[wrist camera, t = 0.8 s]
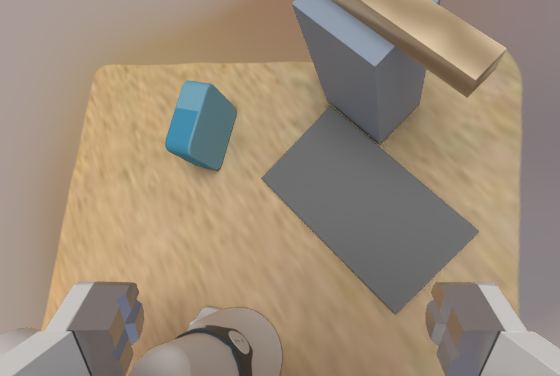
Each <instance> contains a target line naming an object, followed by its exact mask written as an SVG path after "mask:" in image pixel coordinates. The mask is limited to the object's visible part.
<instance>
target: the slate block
mask: <svg viewBox="0 0 560 376" xmlns="http://www.w3.org/2000/svg"><path fill="white" fill-rule="evenodd" d="M432 1H433V2H435V3H436V4H438V5H440V0H432ZM292 6H293V9H294V11H295V14H296V17H297V19H298V22H299V25H300V27H301V30H302V33H303V36H304V38H305V41H306V44H307V47H308V49H309V52H310V55H311V58H312V60H313V63H314V66H315V69H316V71H317V74H318V77H319V80H320V82H321V85H322V88H323V91H324V93H325V96H326V99H327V101H328V102H329V103H330V104H332V105H333V106H334V107H335V108H336V109H337V110H339V111H340V112H341V113H342V114H343V115H345V116H346V117H347V118H348V119H349V120H351V121H352V122H353V123H354V124H355V125H357V126H358V127H359V128H360V129H361V130H362V131H364V132H365V133H366V134H367V135H368V136H370V137H371V138H372V139H373V140H374V141H376V142H377V143H378V144H379V145H380V144H381V143H382V142H383V141H384V140H385V139H386V138H387V137H388V136H389V135H390V134H391V133H392V132H393V131H394V130H395V129H396V128H397V127H398V126H399V125H400V124H401V123H402V122H403V121H404V120H405V118H406V117H407V116H408V115H409V114H410V113H411V112H412V111H413V110H414V109H415V108H416V107H417V106H418V105H419V103H420V98H421V93H422V88H423V83H424V78H425V73H426V68H425V67H423V66H422V65H421V64H419V63H418V62H416V61H415V60H414V59H412V58H411V57H410V56H408V55H407V54H405V53H404V52H403V51H401V50H400V49H398V48H397V47H396V46H394V45H393V44H391V43H390V42H389V41H387V40H386V39H384V38H383V37H382V36H380V35H379V34H377V33H376V32H375V31H373V30H372V29H370V28H369V27H368V26H366V25H365V24H364V23H362V22H361V21H359V20H358V19H357V18H355V17H354V16H352V15H351V14H350V13H348V12H347V11H345V10H344V9H343V8H341V7H340V6H338V5H337V4H336V3H334V2H333V1H331V0H295V1H294V2H293V3H292Z"/></svg>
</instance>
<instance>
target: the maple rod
mask: <svg viewBox="0 0 560 376" xmlns="http://www.w3.org/2000/svg"><path fill="white" fill-rule="evenodd" d="M331 1H333V2H334V3H336V4H337V5H338V6H340V7H341V8H343V9H344V10H345V11H347V12H348V13H350V14H351V15H352V16H354V17H355V18H357V19H358V20H359V21H361V22H362V23H364V24H365V25H366V26H368V27H369V28H370V29H372V30H373V31H375V32H376V33H377V34H379V35H380V36H382V37H383V38H384V39H386V40H387V41H389V42H390V43H391V44H393V45H394V46H396V47H397V48H398V49H400V50H401V51H403V52H404V53H405V54H407V55H408V56H410V57H411V58H412V59H414V60H415V61H416V62H418V63H419V64H421V65H422V66H423V67H425V68H426V69H428V70H429V71H430V72H432V73H433V74H435V75H436V76H437V77H439V78H440V79H442V80H443V81H444V82H446V83H447V84H449V85H450V86H451V87H453V88H454V89H456V90H457V91H458V92H460V93H461V94H463V95H464V96H465V97H468V96H469V95H470V94H471V93H472V92H473V91H474V90H475V89H476V88H477V87H478V86H479V85H480V84H481V83H482V82H483V81H484V80H485V79H486V78H487V77H488V76H489V75H490V74H491V73H492V72H493V71H494V70H495V69H496V67H497V65H498V63H499V62H500V60H501V58H502V56H503V54H504V53H505V51H506V49H507V48H505V47H504V46H502V45H500V44H499V43H497V42H496V41H494V40H493V39H491V38H490V37H488V36H486V35H485V34H483V33H482V32H480V31H478V30H477V29H475V28H474V27H472V26H471V25H469V24H468V23H466V22H465V21H463V20H461V19H460V18H458V17H457V16H455V15H454V14H452V13H450V12H449V11H447V10H446V9H444V8H442V7H441V6H440V5H438V4H436V3H435V2H433V1H432V0H331Z"/></svg>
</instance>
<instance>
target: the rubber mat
mask: <svg viewBox="0 0 560 376" xmlns="http://www.w3.org/2000/svg"><path fill="white" fill-rule="evenodd" d="M261 179H262V180H263V181H264V182H265V183H266V184H267V185H268V186H269V187H270V188H271V189H272V190H273V191H274V192H275V193H276V194H277V195H278V196H279V197H280V198H281V199H282V200H283V201H284V202H285V203H286V204H287V205H288V206H289V207H290V208H291V209H292V210H293V211H294V212H295V213H296V214H297V215H298V216H299V217H300V218H301V219H302V220H303V221H304V222H305V223H306V224H307V225H308V226H309V227H310V228H311V229H312V230H313V231H314V232H315V233H316V234H317V235H318V236H319V237H320V238H321V239H322V240H323V241H324V242H325V243H326V244H327V246H328V247H329V248H330V249H331V250H332V251H333V252H334V253H335V254H336V255H337V256H338V257H339V258H340V259H341V260H342V261H343V262H344V263H345V264H346V265H347V266H348V267H349V268H350V269H351V270H352V271H353V272H354V273H355V274H356V275H357V276H358V277H359V278H360V279H361V280H362V281H363V282H364V283H365V284H366V285H367V286H368V287H369V288H370V289H371V290H372V291H373V292H374V293H375V294H376V295H377V296H378V297H379V298H380V299H381V300H382V301H383V302H384V303H385V304H386V305H387V306H388V307H389V308H390V309H391V310H392V311H393V312H394V313H395V314H396V313H397V312H398V311H399V310H400V309H401V308H402V307H403V306H404V305H405V304H406V303H407V302H408V301H409V300H411V299H412V298H413V297H414V296H415V295H416V294H417V293H418V292H419V291H420V290H421V289H422V288H423V287H424V286H425V285H426V284H427V283H428V282H429V281H430V280H431V279H432V278H433V277H434V276H435V275H436V274H437V273H438V272H439V271H440V270H441V269H442V268H443V267H444V266H445V265H446V264H447V263H448V262H449V261H450V260H451V259H452V258H453V257H454V256H455V255H456V254H457V253H458V252H459V251H460V250H461V249H462V248H463V247H464V246H465V245H466V244H467V243H468V242H469V241H470V240H471V239H472V238H473V237H474V236H475V235H476V234H477V233H478V232H479V231H478V230H477V229H476V228H475V227H474V226H472V225H471V224H470V223H469V222H468V221H467V220H465V219H464V218H463V217H462V216H461V215H459V214H458V213H457V212H456V211H455V210H453V209H452V208H451V207H450V206H449V205H448V204H446V203H445V202H444V201H443V200H442V199H440V198H439V197H438V196H437V195H436V194H434V193H433V192H432V191H431V190H430V189H429V188H427V187H426V186H425V185H424V184H423V183H421V182H420V181H419V180H418V179H417V178H416V177H414V176H413V175H412V174H411V173H410V172H408V171H407V170H406V169H405V168H404V167H402V166H401V165H400V164H399V163H398V162H397V161H395V160H394V159H393V158H392V157H391V156H389V155H388V154H387V153H386V152H385V151H383V150H382V149H381V148H380V147H379V146H378V145H376V144H375V143H374V142H373V141H372V140H370V139H369V138H368V137H367V136H366V135H364V134H363V133H362V132H361V131H360V130H359V129H357V128H356V127H355V126H354V125H353V124H351V123H350V122H349V121H348V120H347V119H345V118H344V117H343V116H342V115H341V114H340V113H338V112H337V111H336V110H335V109H334V108H332V107H331V106H330V107H329V108H328V109H327V110H326V111H325V112H324V113H323V114H322V116H321V117H320V118H319V119H318V120H317V121H316V122H315V123H314V124H313V125H312V126H311V127H310V128H309V129H308V130H307V131H306V132H305V133H304V134H303V135H302V136H301V137H300V138H299V140H298V141H297V142H296V143H295V144H294V145H293V146H292V147H291V148H290V149H289V150H288V151H287V152H286V153H285V154H284V155H283V156H282V157H281V158H280V159H279V160H278V161H277V162H276V163H275V165H274V166H273V167H272V168H271V169H270V170H269V171H268V172H267V173H266V174H265V175H264V176H263V177H262V178H261Z"/></svg>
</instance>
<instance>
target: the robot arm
mask: <svg viewBox="0 0 560 376" xmlns="http://www.w3.org/2000/svg"><path fill="white" fill-rule="evenodd" d="M138 294H139V291H138V288H137V285H136V283H130V282H77V283H76V284H75V285H73V287H72V288H71V290H70V291H69V293H68V295H67V296H66V298H65V299H64V301H63V302H62V304H61V306H60V307H59V309H58V310H57V312H56V313H55V315H54V317H53V318H52V320H51V321H50V323H49V324H48V326H47V328H46V329H45V331H42V330H39V329H35V328H20V329H15V330H12V331H9V332H6V333H3V334H1V335H0V376H126V373H127V370H128V368H129V365H130V362H131V359H132V357H133V354H134V353H133V350H132V347H131V345H133V344H134V343H135V342H136V341H137V340H138V339H139V338H140V335H141V332H142V329H143V322H144V310H143V306H142V304H141V303H140V302H139V301H138V300H136V298H137V296H138ZM431 294H432V296H433V298H434V300H432V301H431V302H430V303H429V304H428V305H427V309H426V326H427V330H428V333H429V336H430V339H431V340H432V341H434V342H435V343H436V344H437V345H438V346H439V348H438V351H437V356H438V359H439V361H440V363H441V366H442V368H443V371H444V373H445V376H560V349H559V348H557V347H556V346H554V345H553V344H552V343H550V342H549V341H547V340H546V339H544V338H542V337H541V336H539V335H538V334H537V333H535V332H528V331H527V329H526V328H525V327H524V325H523V324H522V322H521V321H520V319H519V318H518V316H517V315H516V313H515V312H514V310H513V309H512V307H511V306H510V304H509V303H508V301H507V300H506V298H505V297H504V295H503V294H502V292H501V291H500V289H499V288H498V287H497V285H496V284H494V283H493V282H473V283H472V282H440V283H435V284H434V286H433V288H432V291H431ZM189 325H190V327H189V328H188V329H187V331H186V332H184V333H183V334H181V335H179V336H178V337H177V338H175V339H174V340H172V341H169V342H166V343H163V344H161V345H158V346H155V347H153V348H152V349H150V350H149V351H147V352H146V353H145V354H144V355H143V356H142V357H141V358H140V359H139V360H138V361H137V363H136V364H135V365H134V367H133V368H132V370H131V372H130V374H129V376H280V371H281V366H282V349H281V344H280V340H279V338H278V335H277V333H276V331H275V329H274V328H273V326H272V325H271V324H270V322H269V321H268V320H267V319H266V318H265V317H263V316H262V315H261V314H259V313H257V312H255V311H253V310H251V309H247V308H239V307H238V308H230V309H219V308H215V307H211V306H208V307H205V308H203V309H202V310H201V311H200V313H199V314H198V316H197V317H196V319H195V320H194V321H192V322H191V323H190V324H189Z"/></svg>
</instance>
